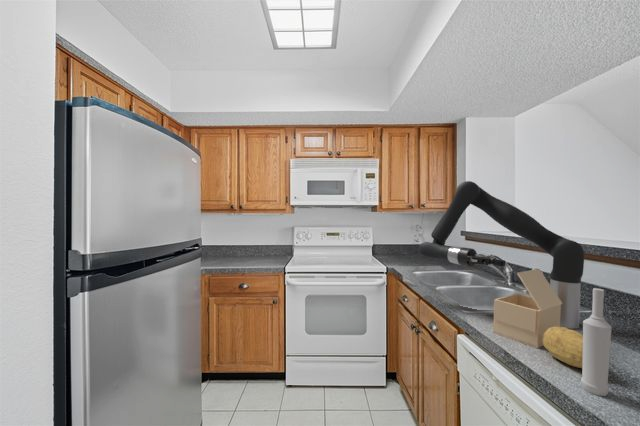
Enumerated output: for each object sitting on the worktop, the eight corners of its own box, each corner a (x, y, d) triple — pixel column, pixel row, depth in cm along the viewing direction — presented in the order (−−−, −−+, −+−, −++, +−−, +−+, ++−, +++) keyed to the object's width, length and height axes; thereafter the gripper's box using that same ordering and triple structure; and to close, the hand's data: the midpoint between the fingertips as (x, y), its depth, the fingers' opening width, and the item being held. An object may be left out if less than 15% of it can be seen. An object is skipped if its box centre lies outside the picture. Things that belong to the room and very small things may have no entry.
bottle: (594, 384, 78) (598, 286, 77) (614, 396, 72) (619, 292, 72) (574, 383, 77) (578, 286, 77) (593, 396, 72) (598, 292, 72)
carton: (516, 324, 118) (518, 293, 117) (560, 337, 106) (561, 303, 105) (492, 332, 109) (493, 299, 108) (536, 348, 97) (537, 311, 96)
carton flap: (537, 269, 111) (539, 268, 110) (561, 304, 105) (562, 303, 104) (516, 273, 103) (517, 272, 103) (540, 310, 97) (541, 310, 96)
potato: (573, 353, 94) (574, 323, 94) (608, 379, 80) (609, 344, 79) (537, 350, 96) (538, 320, 96) (564, 374, 82) (566, 340, 81)
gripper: (452, 247, 125) (495, 254, 110) (471, 246, 132) (514, 252, 117) (451, 266, 125) (494, 275, 110) (470, 263, 132) (513, 272, 117)
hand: (504, 263), depth 114 cm, fingers closed
